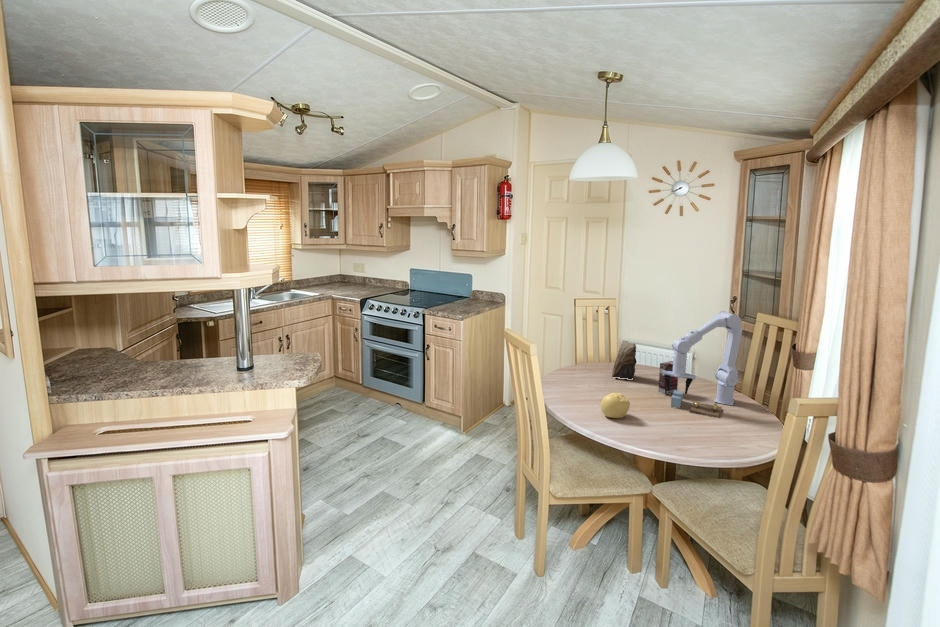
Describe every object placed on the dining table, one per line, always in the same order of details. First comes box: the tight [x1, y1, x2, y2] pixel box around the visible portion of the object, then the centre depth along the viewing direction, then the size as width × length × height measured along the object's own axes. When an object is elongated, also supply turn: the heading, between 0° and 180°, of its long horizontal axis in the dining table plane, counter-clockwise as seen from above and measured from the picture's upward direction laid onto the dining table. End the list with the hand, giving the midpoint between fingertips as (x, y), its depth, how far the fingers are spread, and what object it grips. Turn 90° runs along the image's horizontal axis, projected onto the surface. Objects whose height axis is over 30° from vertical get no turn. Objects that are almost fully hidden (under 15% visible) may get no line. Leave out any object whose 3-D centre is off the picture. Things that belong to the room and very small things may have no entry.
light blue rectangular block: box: [670, 390, 684, 409], centre depth 240 cm, size 11×4×5 cm, turn 152°
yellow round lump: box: [600, 392, 631, 419], centre depth 226 cm, size 12×12×11 cm
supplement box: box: [657, 360, 679, 396], centre depth 254 cm, size 9×5×16 cm, turn 115°
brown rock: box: [611, 339, 637, 379], centre depth 278 cm, size 13×13×20 cm
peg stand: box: [689, 400, 723, 418], centre depth 232 cm, size 12×12×4 cm
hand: (677, 391), depth 239 cm, fingers open, 7 cm apart
